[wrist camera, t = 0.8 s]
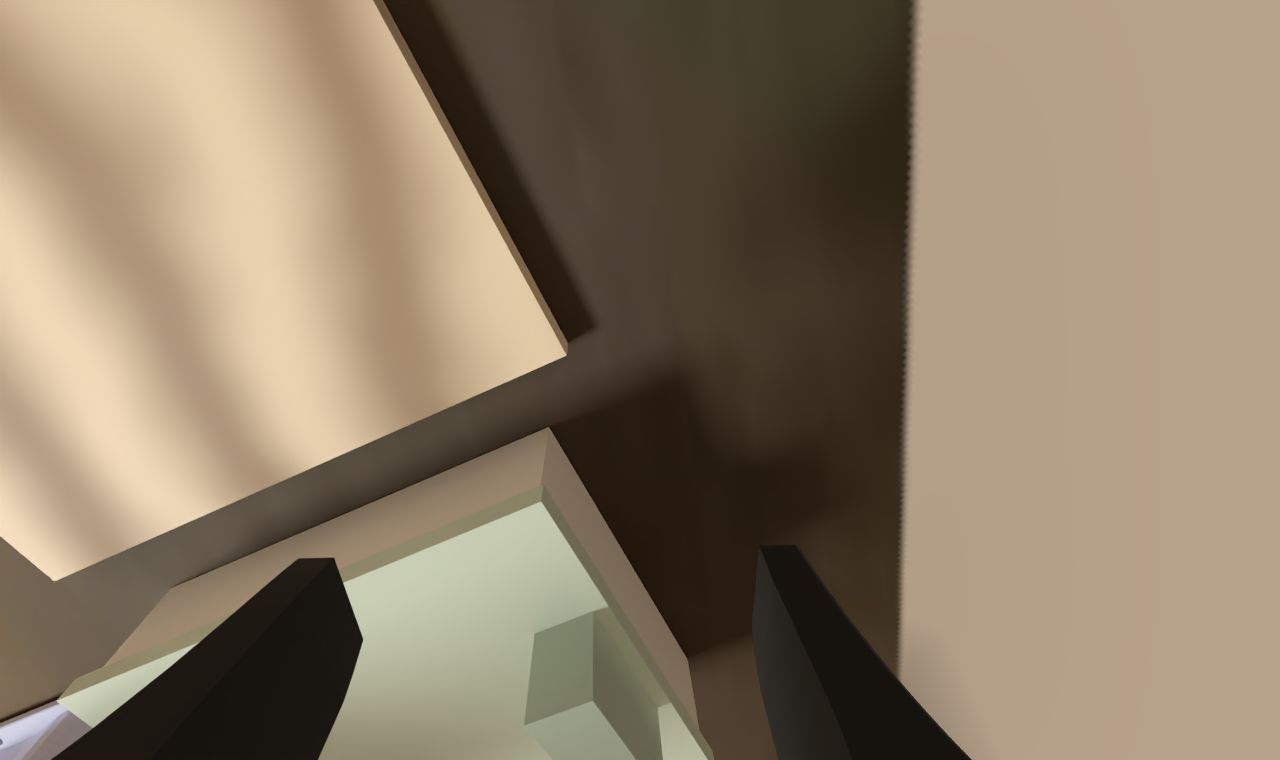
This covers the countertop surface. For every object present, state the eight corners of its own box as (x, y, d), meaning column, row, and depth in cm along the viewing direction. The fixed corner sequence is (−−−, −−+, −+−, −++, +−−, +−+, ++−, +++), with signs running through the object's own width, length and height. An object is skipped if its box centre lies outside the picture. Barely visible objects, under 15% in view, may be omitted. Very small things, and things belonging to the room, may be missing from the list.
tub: (372, 774, 28) (340, 873, 25) (171, 588, 23) (91, 680, 19) (687, 659, 26) (702, 749, 23) (548, 426, 21) (539, 496, 17)
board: (76, 561, 22) (54, 581, 21) (-420, 129, 15) (-484, 131, 14) (567, 343, 20) (566, 355, 19) (231, -280, 13) (205, -308, 12)
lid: (347, 851, 26) (297, 1005, 21) (99, 651, 20) (-38, 805, 16) (707, 726, 24) (732, 867, 19) (546, 464, 18) (530, 581, 14)
